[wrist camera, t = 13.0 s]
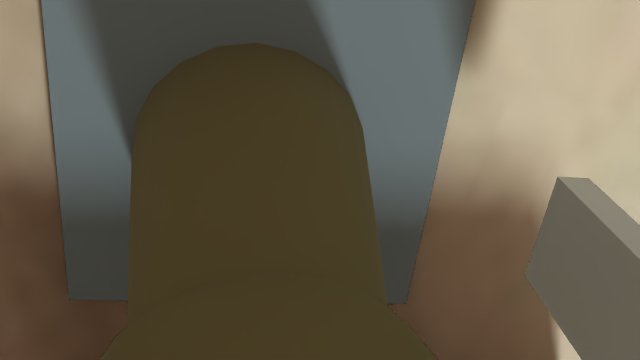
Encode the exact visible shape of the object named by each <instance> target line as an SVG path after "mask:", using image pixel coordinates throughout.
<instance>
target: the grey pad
mask: <svg viewBox="0 0 640 360" xmlns="http://www.w3.org/2000/svg"><path fill="white" fill-rule="evenodd" d="M41 5H42V16H43V26H44V37H45V48H46V59H47V69H48V80H49V91H50V102H51V112H52V123H53V134H54V145H55V155H56V166H57V177H58V188H59V198H60V209H61V220H62V231H63V241H64V252H65V263H66V274H67V284H68V295H69V300H117V301H127V294H128V261H129V228H130V195H131V162H132V147H133V139H134V132H135V124H136V118H137V116H138V114H139V113H140V111H141V109H142V107H143V105H144V103H145V101H146V99H147V98H148V96H149V94H150V92H151V90H152V88H153V87H154V86H155V85H156V84H157V83H158V82H159V81H160V80H162V79H163V78H164V77H165V76H166V75H167V74H168V73H169V72H170V71H172V70H173V69H174V68H175V67H176V66H177V65H178V64H179V63H181V62H182V61H184V60H187V59H189V58H191V57H194V56H196V55H198V54H201V53H203V52H206V51H208V50H210V49H213V48H215V47H217V46H228V45H239V44H250V43H260V44H264V45H269V46H273V47H278V48H282V49H287V50H292V51H296V52H297V53H299V54H301V55H302V56H304V57H306V58H307V59H309V60H311V61H313V62H314V63H316V64H318V65H319V66H321V67H323V68H324V69H326V70H328V71H329V73H330V74H331V75H332V76H333V77H334V78H335V80H336V81H337V82H338V83H339V84H340V85H341V86H342V88H343V89H344V90H345V91H346V92H347V93H348V95H349V96H350V97H351V99H352V102H353V104H354V107H355V110H356V112H357V115H358V117H359V120H360V122H361V125H362V127H363V133H364V140H365V147H366V155H367V162H368V169H369V176H370V183H371V190H372V197H373V205H374V212H375V219H376V226H377V233H378V240H379V247H380V254H381V262H382V269H383V276H384V283H385V290H386V297H387V304H406V300H407V296H408V292H409V287H410V283H411V279H412V274H413V270H414V266H415V261H416V257H417V253H418V248H419V244H420V240H421V235H422V231H423V227H424V222H425V218H426V213H427V209H428V205H429V200H430V196H431V192H432V187H433V183H434V179H435V174H436V170H437V166H438V161H439V157H440V153H441V148H442V144H443V139H444V135H445V131H446V126H447V122H448V118H449V113H450V109H451V105H452V100H453V96H454V92H455V87H456V83H457V79H458V74H459V70H460V65H461V61H462V57H463V52H464V48H465V44H466V39H467V35H468V31H469V26H470V22H471V18H472V13H473V9H474V5H475V0H41Z"/></svg>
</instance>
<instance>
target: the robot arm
mask: <svg viewBox="0 0 640 360" xmlns="http://www.w3.org/2000/svg"><path fill="white" fill-rule="evenodd" d="M525 277H526V279H527V280H528V282H529V283H530V285H531V286H532V287H533V289H534V290H535V292H536V293H537V295H538V296H539V298H540V299H541V301H542V302H543V304H544V305H545V306H546V308H547V309H548V311H549V312H550V314H551V315H552V317H553V318H554V320H555V321H556V323H557V324H558V325H559V327H560V328H561V330H562V331H563V333H564V334H565V336H566V337H567V339H568V340H569V342H570V343H571V344H572V346H573V347H574V349H575V350H576V352H577V353H578V355H579V356H580V358H581V359H582V360H640V225H639V224H638V223H637V222H636V221H635V220H633V219H632V218H631V217H630V216H629V215H628V214H627V213H626V212H625V211H624V210H623V209H622V208H620V207H619V206H618V205H617V204H616V203H615V202H614V201H613V200H612V199H611V198H610V197H609V196H607V195H606V194H605V193H604V192H603V191H602V190H601V189H600V188H599V187H598V186H597V185H595V184H594V183H593V182H592V181H591V180H590V179H589V178H573V177H557V180H556V183H555V186H554V189H553V192H552V195H551V198H550V201H549V204H548V207H547V210H546V213H545V216H544V219H543V222H542V225H541V228H540V231H539V234H538V237H537V240H536V243H535V246H534V249H533V252H532V255H531V258H530V261H529V264H528V267H527V270H526V273H525Z"/></svg>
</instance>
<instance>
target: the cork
mask: <svg viewBox="0 0 640 360" xmlns="http://www.w3.org/2000/svg"><path fill="white" fill-rule="evenodd" d="M100 360H438V359H437V357H436V356H435V355H434V354H433V353H432V351H431V350H430V349H429V348H428V347H427V345H426V344H425V343H424V342H423V341H422V339H421V338H420V337H419V336H418V335H417V333H416V332H415V331H414V330H412V329H411V328H410V327H409V326H408V325H407V324H406V323H405V322H404V321H403V320H402V319H401V318H400V317H399V316H398V315H397V314H396V313H395V312H394V311H393V310H392V309H390V308H389V307H388V304H387V297H386V290H385V283H384V276H383V269H382V262H381V254H380V247H379V240H378V233H377V226H376V219H375V212H374V205H373V197H372V190H371V183H370V176H369V169H368V162H367V155H366V147H365V140H364V133H363V127H362V125H361V122H360V120H359V117H358V115H357V112H356V110H355V107H354V104H353V102H352V99H351V97H350V96H349V95H348V93H347V92H346V91H345V90H344V89H343V88H342V86H341V85H340V84H339V83H338V82H337V81H336V80H335V78H334V77H333V76H332V75H331V74H330V73H329V71H328V70H326V69H324V68H323V67H321V66H319V65H318V64H316V63H314V62H313V61H311V60H309V59H307V58H306V57H304V56H302V55H301V54H299V53H297V52H296V51H292V50H287V49H282V48H278V47H273V46H269V45H264V44H260V43H250V44H239V45H228V46H217V47H215V48H213V49H210V50H208V51H206V52H203V53H201V54H198V55H196V56H194V57H191V58H189V59H187V60H184V61H182V62H181V63H179V64H178V65H177V66H176V67H175V68H174V69H173V70H172V71H170V72H169V73H168V74H167V75H166V76H165V77H164V78H163V79H162V80H160V81H159V82H158V83H157V84H156V85H155V86H154V87H153V88H152V90H151V92H150V94H149V96H148V98H147V99H146V101H145V103H144V105H143V107H142V109H141V111H140V113H139V114H138V116H137V118H136V124H135V132H134V139H133V147H132V162H131V195H130V228H129V261H128V294H127V327H126V329H124V330H123V331H122V332H120V333H119V334H118V335H117V336H116V337H115V338H114V340H113V341H112V343H111V344H110V346H109V347H108V349H107V350H106V352H105V353H104V355H103V356H102V358H101V359H100Z"/></svg>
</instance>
